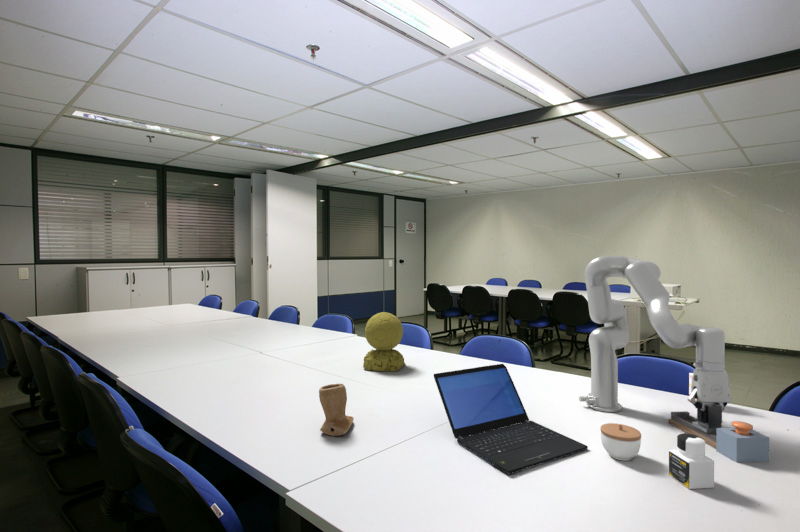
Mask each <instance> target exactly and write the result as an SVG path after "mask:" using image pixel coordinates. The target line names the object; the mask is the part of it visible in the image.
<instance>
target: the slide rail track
mask: <svg viewBox="0 0 800 532" xmlns="http://www.w3.org/2000/svg"><path fill="white" fill-rule="evenodd" d="M690 414H691V413H690V412H689V411H688V410H687V411H670V417H669V418H668V420H667V422H668V424H669V425H672V426H674V427H675V428H677V429H679V430H681V431H682V432H684V433H688V434H693V435H697V436H699V437H701V438H702V439H704V441H705V445H708V446H710V447H711V448H714V449H715V450H716V436H715V435H713V434H711V433H706V432H704V431H702V430H700V429H698V428H696V427H694V426H692V422H698V420H697V417H694V416H692V415H690Z"/></svg>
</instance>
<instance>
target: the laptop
mask: <svg viewBox="0 0 800 532" xmlns="http://www.w3.org/2000/svg"><path fill="white" fill-rule="evenodd" d="M433 379H434V381H435V385H436V386H437V387H436V388H437V391H438V394H439V395H440V399H441V402H442V404H443V408H444V410H445V413H446V416H447V419H448V422H449V426H450V429H451V430H452V434H453V437H454V439H455V440H456V442H457V443H458V444H460V445H462V446H463V447H465V448H466V449H468V450H469V451H471V452H473V453H474V454H475V455H478V456H479V457H481V458H482V459H483V460H485V461H487V462H488V463H489V464H491V465H493V466H495V467H496V468H497V469H499V470H501V471H502V472H505V473H506V474H508V475H511V474H513V473H518V472H521V471H522V470H526V469H528V468H531V467H532V468H533V467H535V466H537V465H541V464H544V463H548V462H550V461H554V460H557V459H560V458H563V457H567V456H570V455H572V454H575V453H579V452H582V451H586V450H587V449H588V447H589V446H588V445H586V444H585V443H584V444H583V443H582V442H580V441H578V440H575V439H574V438H570V437H568V436H566V435H564V434H561V433H560V432H557V431H556V430H553V429H551V428H548V427H546V426H544V425H542V424H540V423H537V422H535V421H533V420H530V419H529V416H528V414H527V411H526V408H525V407H524V405H523V402H522V400H521V398H520V397H521V396H520V395H519V393H518V391H517V388H516V385H515V383H514V381H513V379H512V376H511V374H510V372H509V371H508V369H507V366H506V365H505V364H504V363H499V364H491V365H490V364H489V365H484V366H477V367H470V368H463V369H457V370H451V371H444V372H443V371H442V372H437V373H433Z"/></svg>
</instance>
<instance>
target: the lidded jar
mask: <svg viewBox="0 0 800 532" xmlns="http://www.w3.org/2000/svg"><path fill="white" fill-rule="evenodd" d="M600 437H601V438H600V439H601V443H602V446H603V448H604V450H605V451H606V452H607V453H608V456H610V457H611V458H613V459H615V460H617V461H623V462H624V461H625V462H626V461H631V460H632V459H634V458H635V457H636V456H637V455H638V453H639V451H640V448H641V444H642V443H641V442H642V433H641V432H640V431H639V430H638V429H637V428H635V427H633V426H629V425H626V424H622V423H614V422H613V423H612V422H611V423H610V422H609V423H605V424H602V425H600Z"/></svg>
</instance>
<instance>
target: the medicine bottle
mask: <svg viewBox="0 0 800 532" xmlns="http://www.w3.org/2000/svg"><path fill="white" fill-rule="evenodd" d="M676 438H677V439H676V445H677V446H676V449H674V448H672V449H668V476H669V477H671V478H672V479H674V480H675V481H677V482H678V483H679V484H681V485H682V486H684V487H685V488H686V489H688V490H696V489H698V490H699V489H715V488H714V487H715V460H713V459H712V458H710V457H708V456H706V443H705V441H704V439H702V438H701V437H699V436H697V435H693V434H688V433H686V432H684V433H683V432H682V433H678V435H677V437H676Z"/></svg>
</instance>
